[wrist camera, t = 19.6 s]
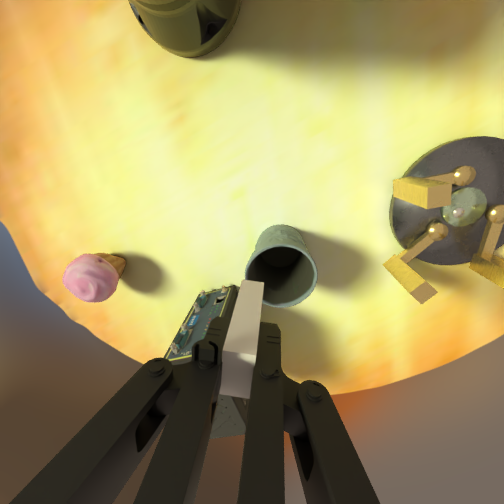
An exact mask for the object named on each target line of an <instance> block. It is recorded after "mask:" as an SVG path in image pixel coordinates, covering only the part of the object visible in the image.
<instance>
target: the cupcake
mask: <svg viewBox="0 0 504 504" xmlns="http://www.w3.org/2000/svg"><path fill="white" fill-rule="evenodd" d="M125 265H126V261H125V260H124V259H123V258H121V257H117V256H112V255H110V254H106V253H96V254H83V255H81V256H79V257H78V258H76V259H74V260H73V261H72V262H71V263H70V264H69V265H68V266H67V267H66V270H65V272H64V275H63V284H64V286H65V287H66V288H67V289H68V290H69V291H70V292H71V293H72V294H73V295H75V296H76V297H77V298H79V299H81V300H83V301H86V302H102V301H104V300H106V299H108V298H109V297H110V296H111V295H112V294H113V293H114V292H115V290H116V287H117V284H118V281H119V279H120V277H121V275H122V273H123V269H124V267H125Z"/></svg>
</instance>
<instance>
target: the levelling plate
mask: <svg viewBox="0 0 504 504" xmlns="http://www.w3.org/2000/svg"><path fill="white" fill-rule="evenodd" d="M458 166H471V167H473V168H474V169H475V171H476V176H475V178H474V180H473V181H472V182H471V183H470V184H468V185H466V186H458V185H454V184H452V192H451V205H448V206H443V207H437V208H431V209H425V208H422V207H420V206H417V205H414V204H412V203H409V202H406V201H404V200H401V199H398V198H396V197H394V196H392V199H391V204H390V211H389V219H390V226H391V229H392V232H393V234H394V237H395V238H396V240H397V241H398V243H399V244H400V245H401V246H402V247H403V248H404V249H406V248H407V247H408V246H410V245H411V244H412V243H413V242H414V241H416V240H417V239H418V238H419V237H420V236H422V235H423V234H424V233H425V229H426V227H427V226H428V225H429V224H431V223H433V222H439V223H442V224H444V225H446V226H447V227H448V234H447V236H446V237H445V238H444V239H442V240H440V241H434V242H433V243H432V244H430V245H429V246H428V247H427V248H425V249H424V250H423V251H422V252H420V253H419V254H418V255H417V256H416V258H418V259H420V260H422V261H425V262H428V263H432V264H438V265H455V264H462V263H466V262H470V261H471V260H472V257H473V254H474V253H477V252H478V248H479V245H480V242H481V239H482V236H483V233H484V230H485V227H486V224H487V220H486V218H485V212H486V210H487V209H488V208H489V207H490V206H492V205H494V204H502V205H504V140H503V139H500V138H496V137H487V136H481V137H467V138H461V139H456V140H453V141H449V142H446V143H444V144H442V145H439V146H437V147H436V148H434V149H432V150H430V151H429V152H427V153H426V154H424V155H423V156H421V157H420V158H419V159H418V160H417V161H416V162H414V163H413V164H412V166H411V167H410V168H409V169H408V170H407V171H406V172H405V174H404V175H403V176H402V178H405V177H410V176H413V177H419V178H422V177H427V176H432V175H437V174H442V173H447V172H451V171H452V170H453V169H454V168H456V167H458ZM503 244H504V224H503V227H502V229H501V232H500V235H499V238H498V241H497V244H496V247H495V250H496V249H497V248H499V247H500V246H501V245H503Z"/></svg>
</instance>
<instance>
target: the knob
mask: <svg viewBox="0 0 504 504" xmlns="http://www.w3.org/2000/svg"><path fill="white" fill-rule="evenodd" d="M447 234H448V227H447V226H446V225H444V224H442V223H439V222H433V223H431V224H429V225H428V226H427V227H426V229H425V233H424V234H423V235H422V236H420V237H419V238H418V239H417V240H416V241H414V242H413V243H412V244H411V245H410V246H408V247H407V248H406V249H405V250H404V251H402V252H401V253H400V254H399V255H398V256H396V255H393V256H392V257H391V258H390V259H389V260H387V261H386V262H385V263H384V264H383V266H384V267H385V268H386V269H387V270H388V271H389V272H390V273H391V274H392V275H393V276H394V278H395V279H396V280H397V281H398V282H399V283H400V284H401V285H402V286H403V287H404V288H405V289H406V290H407V291H408V292H409V293H410V294H411V295H412V296H413V297H414V298H415V299H416V300H417V301H419V302H420V303H421V304H423V303H424V302H425V301H427V300H428V299H430V298H431V297H432V296H434V295H435V294H436V293H438V292H437V291H436V290H435V289H434V288H433V287H432V286H431V285H430V284H429V283H427V282H426V281H425V280H424V279H423V278H422V277H421V276H419V275H418V274H417V273H416V272H415V271H414V270H412V269H411V268H410V267H409V266H408V265H407V263H408V262H409V261H411V260H412V259H413V258H414V257H416V256H417V255H418V254H419V253H420V252H422V251H423V250H424V249H425V248H427V247H428V246H429V245H430V244H432V243H433V242H434V241H440V240H442V239H444V238H445V237H446V236H447Z"/></svg>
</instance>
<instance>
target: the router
mask: <svg viewBox="0 0 504 504" xmlns="http://www.w3.org/2000/svg"><path fill="white" fill-rule="evenodd" d="M200 293H201V294H199V295H198V297H197V299H196V301H195V302H194V304H193V306H192V308H191V309H190V311H189V313H188V315H187V317H186V318H185V320H184V322H183V324H182V325H181V327H180V329H179V331H178V333H177V335H176V336H175V338H174V340H173V342H172V343H171V345H170V347H169V349H168V351H167V352H166V354H165V356H164V358H166V359H168V360H169V361H171V363H172V365H177V364H184V363H187V362H190V361H191V360H192V346H193V345H194V343H196V342H197V341H199V340H202V339H204V337H205V335H206V332H207V330H208V327H209V325H210V322H211V321H212V320H213V319H214V318H215V317H216V316H219V317H226V318H232V315H233V311H234V308H235V304H236V300H237V297H238V292H237V290H236V288H235V286H234V285H233V286H229V287H225V286H222V289H218V290H214V291H210V292H206V293H205V291H204V290H202V291H200ZM219 393H220V391H219ZM248 407H249V399H247V398H241V397H235V396H229V395H222V394H219V395H218V402H217V409H216V413H215V417H214V421H213V425H212V430H211V434H210V438H209V439H213V438H220V437H227V436H236V435H243V434H245V431H246V423H247V414H248Z"/></svg>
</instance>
